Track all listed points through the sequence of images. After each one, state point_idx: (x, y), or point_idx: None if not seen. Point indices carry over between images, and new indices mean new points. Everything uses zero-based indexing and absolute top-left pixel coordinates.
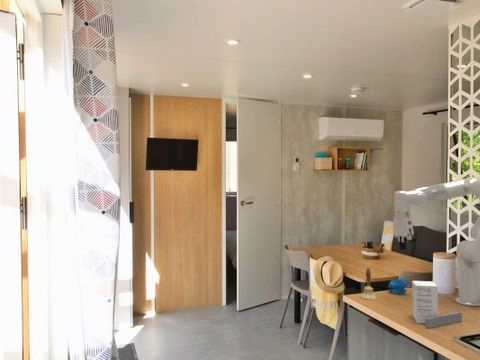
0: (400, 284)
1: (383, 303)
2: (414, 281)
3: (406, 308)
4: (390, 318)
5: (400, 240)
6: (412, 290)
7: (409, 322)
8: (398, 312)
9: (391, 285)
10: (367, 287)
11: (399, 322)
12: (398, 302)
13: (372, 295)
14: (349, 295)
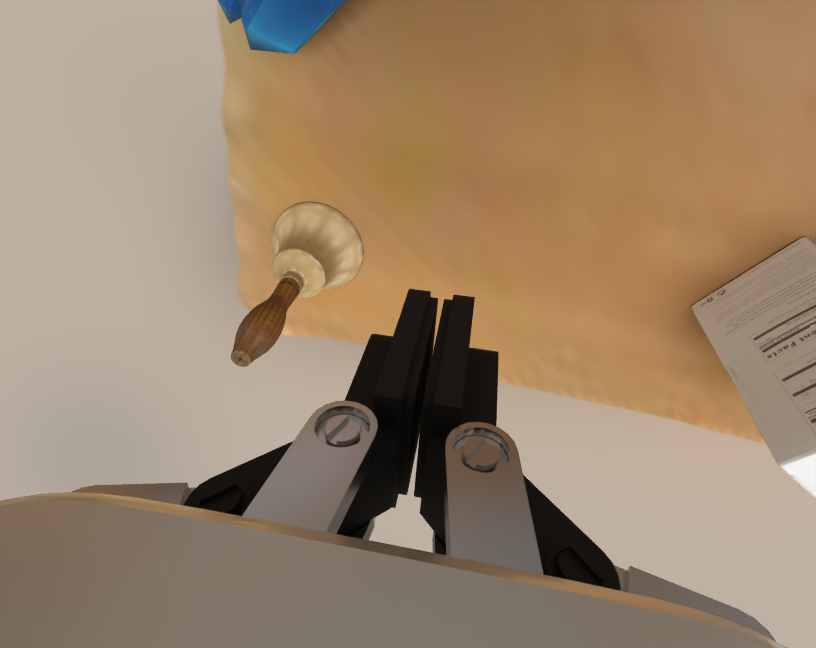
0: (339, 5)
1: (443, 261)
2: (807, 474)
3: (587, 227)
4: (619, 400)
5: (374, 520)
6: (748, 410)
7: (718, 382)
8: (596, 315)
9: (284, 51)
10: (302, 291)
11: (679, 410)
12: (479, 171)
13: (344, 259)
14: (246, 298)
